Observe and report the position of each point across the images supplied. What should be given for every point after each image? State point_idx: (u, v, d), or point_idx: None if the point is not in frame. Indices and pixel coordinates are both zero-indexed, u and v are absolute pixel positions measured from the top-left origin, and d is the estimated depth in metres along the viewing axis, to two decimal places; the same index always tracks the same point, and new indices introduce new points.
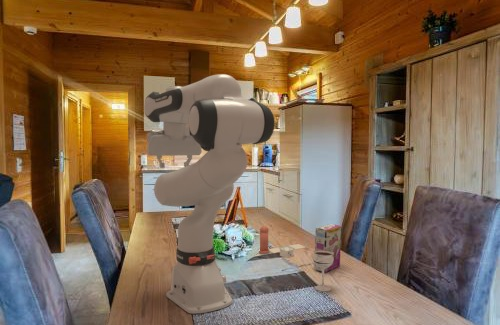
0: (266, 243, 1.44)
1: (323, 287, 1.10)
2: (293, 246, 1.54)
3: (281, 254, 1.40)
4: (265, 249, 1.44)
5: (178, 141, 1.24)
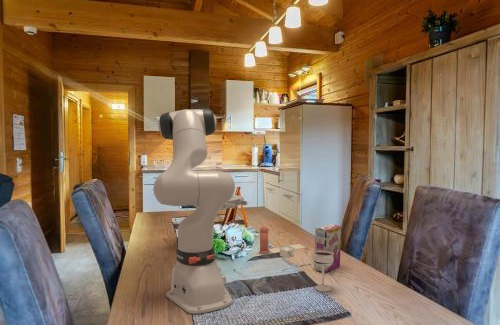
0: (266, 243, 1.44)
1: (323, 287, 1.10)
2: (293, 246, 1.54)
3: (281, 254, 1.40)
4: (265, 249, 1.44)
5: None
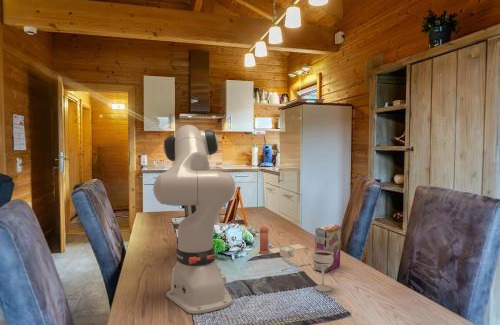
0: (266, 243, 1.44)
1: (323, 287, 1.10)
2: (293, 246, 1.54)
3: (281, 254, 1.40)
4: (265, 249, 1.44)
5: None
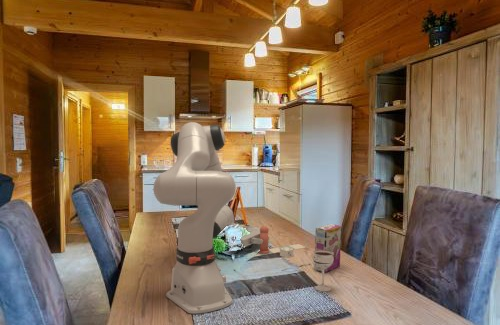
0: (266, 243, 1.44)
1: (323, 287, 1.10)
2: (293, 246, 1.54)
3: (281, 254, 1.40)
4: (265, 249, 1.44)
5: None
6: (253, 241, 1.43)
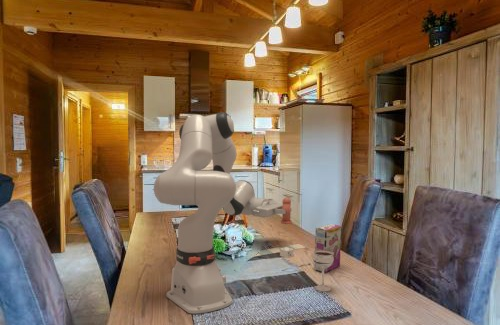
0: (289, 214, 1.49)
1: (323, 287, 1.10)
2: (293, 246, 1.54)
3: (281, 254, 1.40)
4: (288, 219, 1.49)
5: (269, 205, 1.56)
6: (276, 212, 1.49)
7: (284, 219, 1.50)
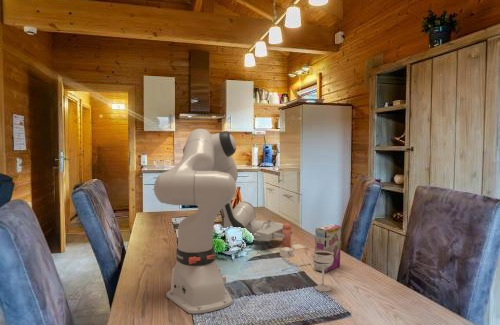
0: (289, 239, 1.50)
1: (323, 287, 1.10)
2: (293, 246, 1.54)
3: (281, 254, 1.40)
4: (288, 245, 1.50)
5: (269, 227, 1.57)
6: (275, 236, 1.48)
7: (284, 245, 1.50)
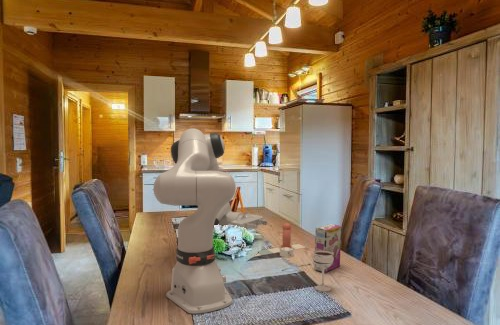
0: (289, 239, 1.50)
1: (323, 287, 1.10)
2: (293, 246, 1.54)
3: (281, 254, 1.40)
4: (288, 245, 1.50)
5: (245, 219, 1.62)
6: (247, 226, 1.53)
7: (284, 245, 1.50)
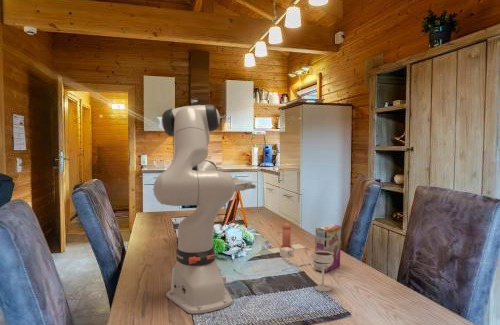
0: (289, 239, 1.50)
1: (323, 287, 1.10)
2: (293, 246, 1.54)
3: (281, 254, 1.40)
4: (288, 245, 1.50)
5: None
6: (235, 189, 1.51)
7: (284, 245, 1.50)
